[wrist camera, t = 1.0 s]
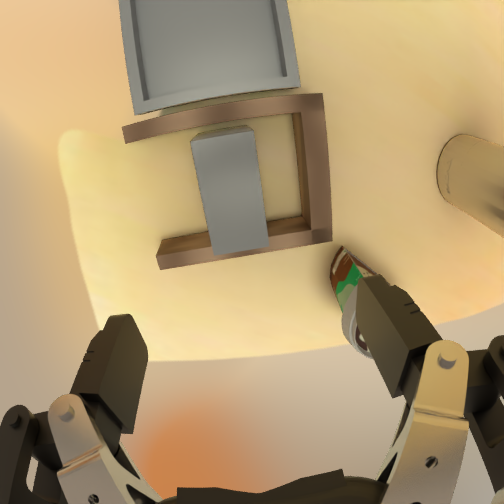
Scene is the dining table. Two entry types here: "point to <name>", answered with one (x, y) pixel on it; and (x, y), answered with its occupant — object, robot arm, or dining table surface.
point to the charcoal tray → (205, 50)
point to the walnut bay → (309, 167)
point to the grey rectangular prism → (230, 189)
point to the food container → (349, 294)
